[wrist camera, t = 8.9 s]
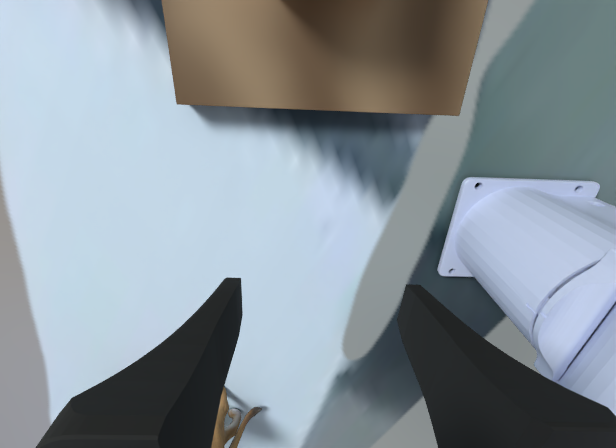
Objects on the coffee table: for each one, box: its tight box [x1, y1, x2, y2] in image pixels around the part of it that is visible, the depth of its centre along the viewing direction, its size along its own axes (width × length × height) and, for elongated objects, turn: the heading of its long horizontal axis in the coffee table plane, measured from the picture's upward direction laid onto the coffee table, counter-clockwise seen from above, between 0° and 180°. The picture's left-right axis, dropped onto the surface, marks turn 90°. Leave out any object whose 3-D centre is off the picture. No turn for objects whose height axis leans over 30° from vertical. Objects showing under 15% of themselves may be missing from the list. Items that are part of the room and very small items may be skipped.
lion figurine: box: [211, 387, 262, 448], centre depth 26 cm, size 15×5×9 cm, turn 73°
